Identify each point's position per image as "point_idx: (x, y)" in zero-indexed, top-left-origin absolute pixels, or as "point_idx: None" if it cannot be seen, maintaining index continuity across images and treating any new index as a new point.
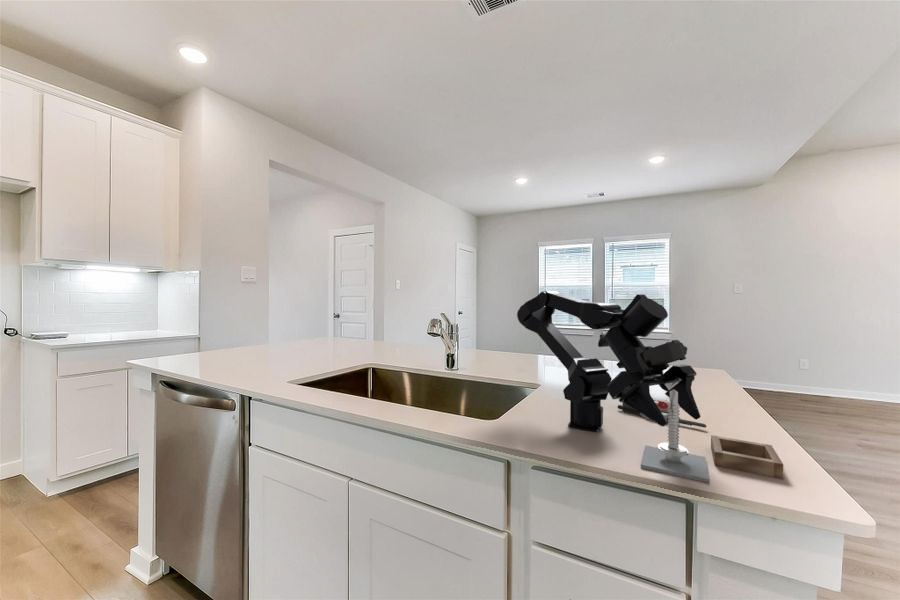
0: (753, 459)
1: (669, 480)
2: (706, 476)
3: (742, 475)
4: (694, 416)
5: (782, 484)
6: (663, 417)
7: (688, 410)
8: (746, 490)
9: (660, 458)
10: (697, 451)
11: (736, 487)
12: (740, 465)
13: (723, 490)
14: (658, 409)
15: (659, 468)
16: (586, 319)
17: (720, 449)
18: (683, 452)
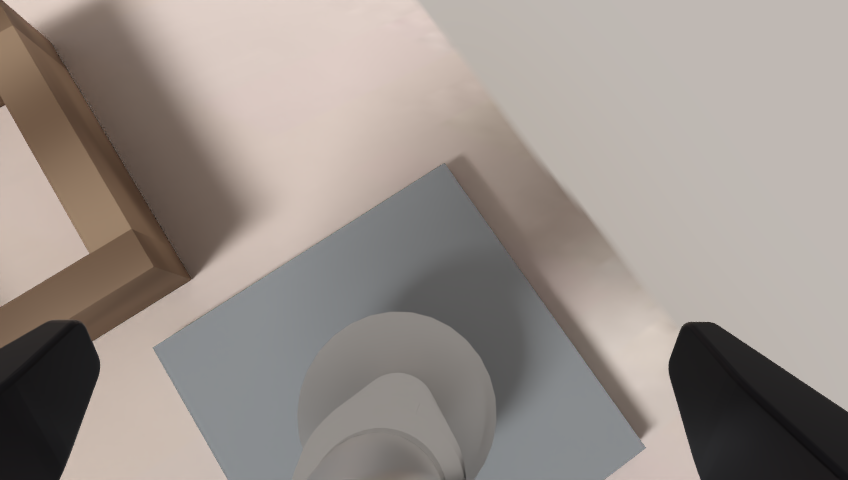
0: (60, 102)
1: (609, 272)
2: (424, 187)
3: (189, 146)
4: (79, 382)
5: (122, 19)
6: (739, 359)
7: (32, 476)
8: (349, 58)
9: None
10: None
11: (361, 92)
12: (117, 172)
13: (451, 101)
14: (826, 443)
15: (581, 361)
16: None
17: (77, 271)
18: (407, 324)
